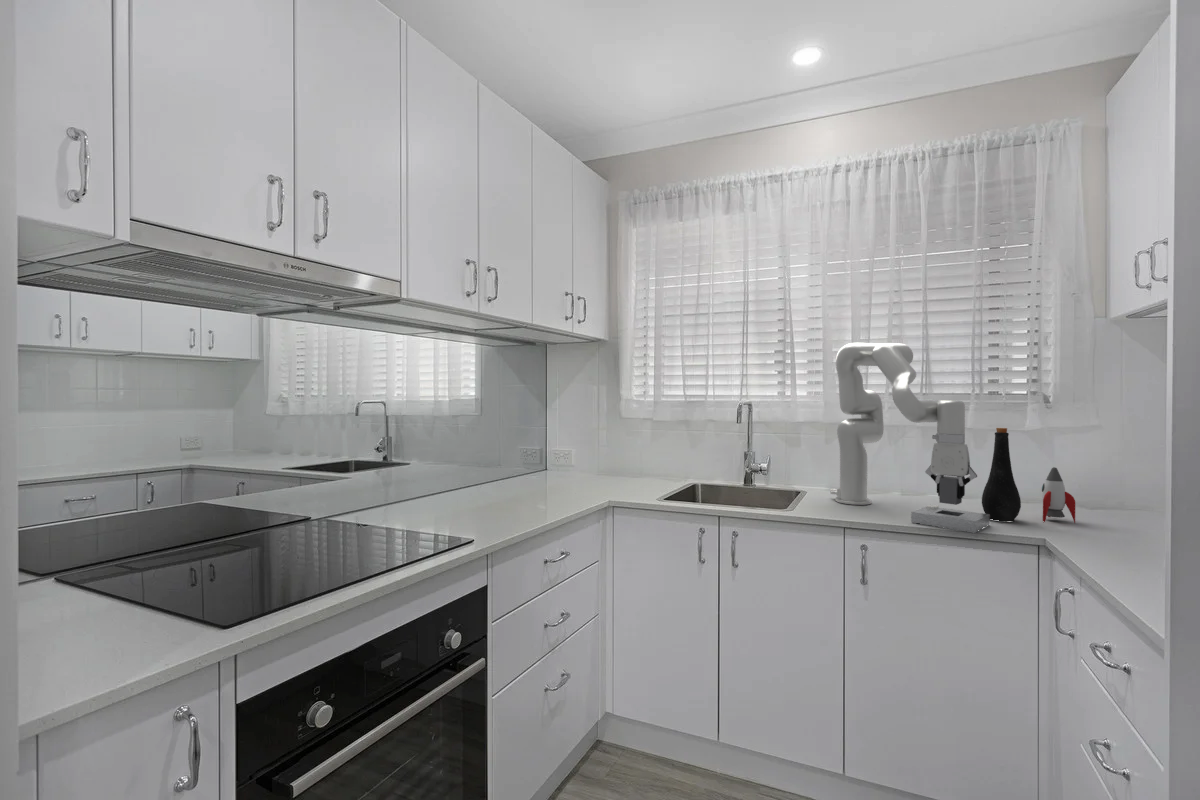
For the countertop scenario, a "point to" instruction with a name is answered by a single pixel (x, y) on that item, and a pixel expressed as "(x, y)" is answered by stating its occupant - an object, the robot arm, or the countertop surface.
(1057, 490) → the toy
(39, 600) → the countertop surface
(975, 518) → the socket plate
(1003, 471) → the bottle
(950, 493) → the plug
